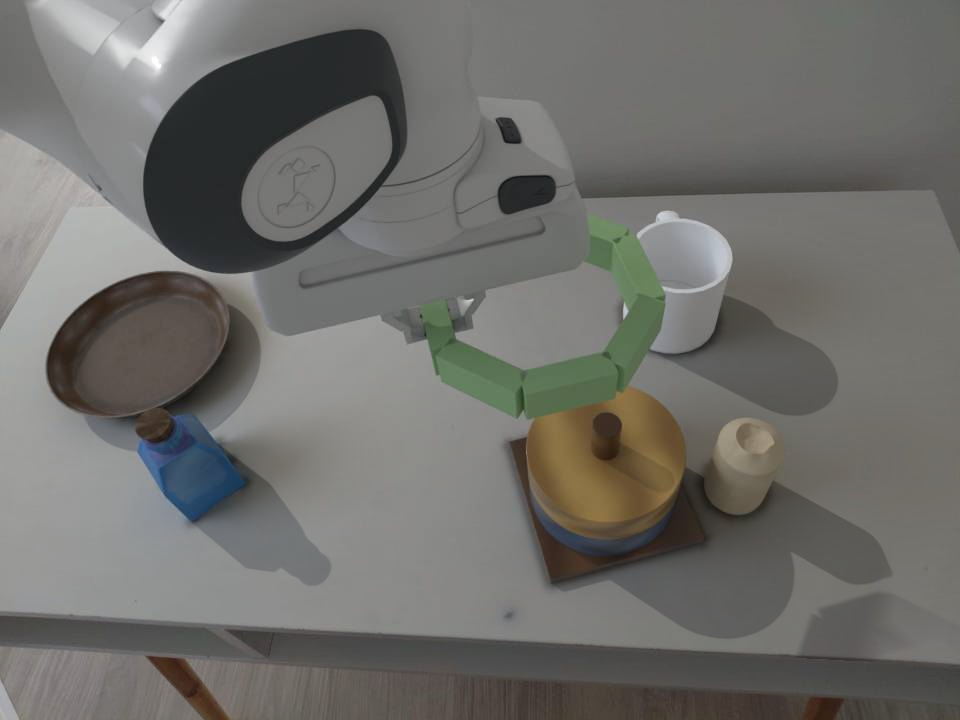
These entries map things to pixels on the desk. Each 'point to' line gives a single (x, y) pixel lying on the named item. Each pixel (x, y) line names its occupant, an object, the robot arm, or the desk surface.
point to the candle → (743, 465)
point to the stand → (605, 484)
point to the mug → (686, 279)
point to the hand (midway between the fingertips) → (438, 329)
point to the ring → (569, 378)
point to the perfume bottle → (185, 461)
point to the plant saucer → (137, 344)
